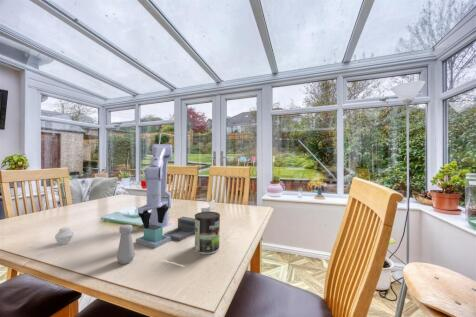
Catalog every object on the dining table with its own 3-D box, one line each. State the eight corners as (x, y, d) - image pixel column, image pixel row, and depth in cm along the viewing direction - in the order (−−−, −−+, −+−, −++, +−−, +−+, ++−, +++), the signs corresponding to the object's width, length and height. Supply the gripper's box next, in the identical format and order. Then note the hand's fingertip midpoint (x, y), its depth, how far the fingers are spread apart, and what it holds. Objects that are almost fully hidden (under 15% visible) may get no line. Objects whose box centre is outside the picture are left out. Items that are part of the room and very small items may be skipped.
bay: (161, 237, 97) (161, 224, 96) (183, 227, 110) (183, 216, 110) (182, 242, 91) (182, 229, 91) (201, 231, 104) (201, 219, 104)
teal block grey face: (155, 244, 88) (155, 229, 88) (143, 241, 91) (143, 226, 91) (162, 240, 91) (162, 226, 91) (151, 237, 94) (151, 223, 94)
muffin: (58, 241, 91) (58, 225, 91) (75, 239, 93) (75, 223, 93) (52, 247, 85) (52, 230, 85) (70, 245, 88) (70, 228, 87)
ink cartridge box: (206, 225, 114) (206, 198, 114) (215, 225, 113) (215, 198, 113) (200, 230, 106) (201, 201, 106) (210, 231, 105) (210, 202, 105)
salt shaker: (121, 257, 78) (121, 222, 77) (137, 257, 78) (137, 222, 78) (113, 266, 72) (113, 228, 71) (130, 265, 72) (130, 228, 72)
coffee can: (224, 247, 88) (225, 213, 87) (208, 257, 79) (209, 220, 79) (205, 241, 93) (206, 210, 93) (189, 250, 84) (189, 215, 84)
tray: (135, 243, 90) (135, 238, 90) (152, 236, 97) (152, 232, 97) (155, 249, 85) (155, 244, 85) (170, 241, 92) (170, 236, 92)
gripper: (146, 198, 82) (146, 232, 83) (172, 192, 95) (172, 221, 96) (134, 196, 85) (134, 229, 86) (161, 191, 98) (161, 219, 99)
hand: (153, 225), depth 91 cm, fingers open, 7 cm apart
